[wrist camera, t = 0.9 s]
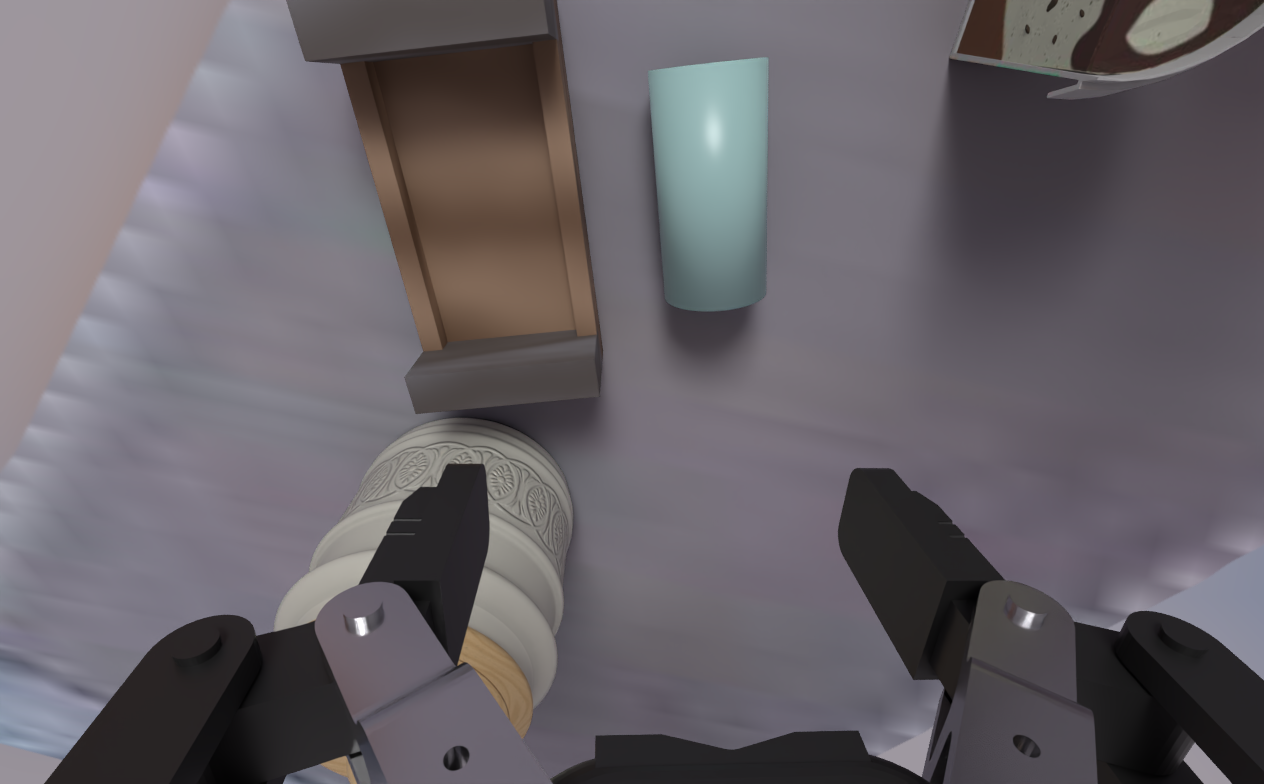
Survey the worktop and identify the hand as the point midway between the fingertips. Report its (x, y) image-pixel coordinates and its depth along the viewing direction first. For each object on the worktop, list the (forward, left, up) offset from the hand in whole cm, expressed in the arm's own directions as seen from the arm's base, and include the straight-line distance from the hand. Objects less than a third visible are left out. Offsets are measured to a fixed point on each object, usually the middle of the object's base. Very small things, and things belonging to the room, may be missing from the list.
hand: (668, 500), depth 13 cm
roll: (-4, +3, -18) cm, 18 cm away
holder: (-4, -7, -20) cm, 22 cm away
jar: (+14, -12, -20) cm, 28 cm away
